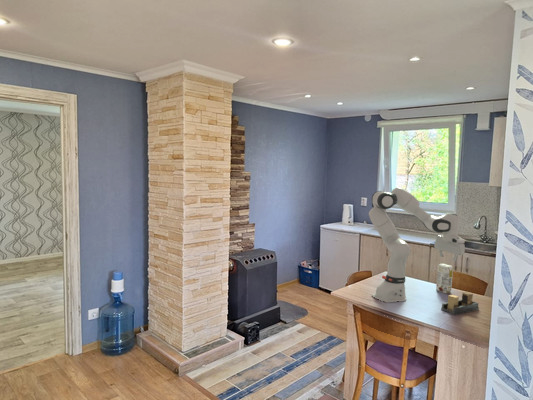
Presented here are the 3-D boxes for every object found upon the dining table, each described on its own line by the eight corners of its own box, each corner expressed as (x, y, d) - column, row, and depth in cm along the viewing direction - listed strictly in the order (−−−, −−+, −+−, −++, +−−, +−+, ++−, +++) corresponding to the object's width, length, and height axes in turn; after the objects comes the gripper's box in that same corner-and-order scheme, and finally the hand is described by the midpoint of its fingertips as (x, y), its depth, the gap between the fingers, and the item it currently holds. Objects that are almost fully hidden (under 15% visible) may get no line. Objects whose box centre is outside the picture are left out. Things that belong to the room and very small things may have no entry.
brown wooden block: (465, 304, 228) (466, 291, 228) (471, 306, 225) (472, 293, 224) (460, 305, 226) (461, 292, 226) (466, 307, 223) (467, 294, 222)
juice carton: (445, 294, 250) (448, 267, 248) (434, 290, 257) (436, 264, 255) (452, 292, 253) (454, 265, 252) (441, 288, 261) (443, 262, 259)
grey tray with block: (454, 315, 214) (455, 299, 213) (441, 309, 222) (442, 294, 221) (478, 309, 224) (479, 294, 223) (464, 304, 232) (466, 289, 231)
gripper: (433, 234, 246) (431, 254, 247) (460, 241, 228) (458, 263, 229) (439, 234, 249) (437, 254, 250) (467, 241, 230) (465, 262, 232)
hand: (447, 258), depth 239 cm, fingers open, 8 cm apart
